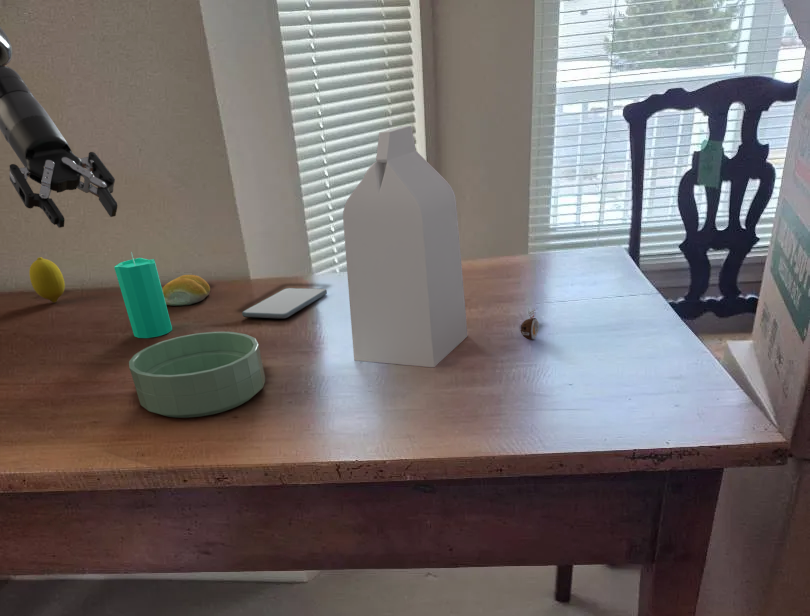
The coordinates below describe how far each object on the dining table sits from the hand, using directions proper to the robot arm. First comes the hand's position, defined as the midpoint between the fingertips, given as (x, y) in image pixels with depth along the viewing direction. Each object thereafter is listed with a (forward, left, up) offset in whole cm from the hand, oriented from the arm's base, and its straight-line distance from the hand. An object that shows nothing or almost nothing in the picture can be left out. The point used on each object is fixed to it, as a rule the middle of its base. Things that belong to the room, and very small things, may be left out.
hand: (88, 218), depth 112 cm
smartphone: (+16, -23, -16) cm, 32 cm away
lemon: (+3, +23, -16) cm, 28 cm away
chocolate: (+16, -67, -16) cm, 71 cm away
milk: (+7, -54, -16) cm, 57 cm away
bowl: (-17, -39, -16) cm, 45 cm away
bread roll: (+13, -2, -16) cm, 21 cm away
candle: (-2, -11, -16) cm, 20 cm away
